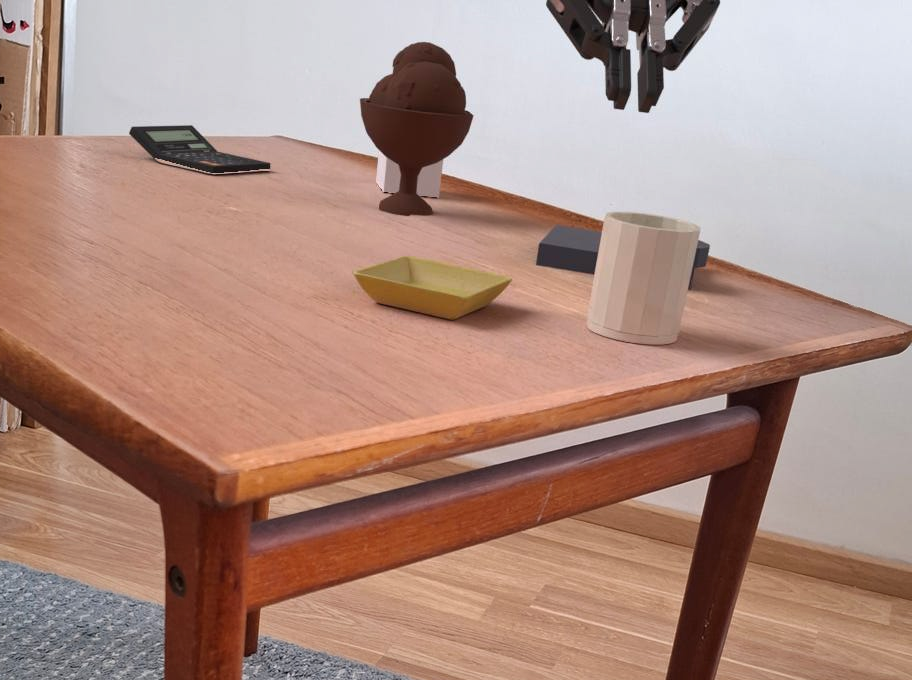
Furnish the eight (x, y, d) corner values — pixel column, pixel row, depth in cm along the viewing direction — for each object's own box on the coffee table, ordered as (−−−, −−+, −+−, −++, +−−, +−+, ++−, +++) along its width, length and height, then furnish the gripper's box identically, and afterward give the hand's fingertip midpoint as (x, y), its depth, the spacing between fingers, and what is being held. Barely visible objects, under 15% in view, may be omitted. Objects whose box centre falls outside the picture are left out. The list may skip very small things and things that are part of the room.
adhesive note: (439, 198, 131) (446, 138, 129) (383, 193, 130) (389, 132, 127) (429, 189, 137) (435, 130, 134) (375, 183, 135) (381, 124, 132)
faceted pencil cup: (678, 330, 89) (701, 222, 85) (675, 350, 83) (699, 235, 80) (590, 315, 90) (609, 207, 86) (581, 334, 84) (601, 220, 81)
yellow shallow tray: (462, 328, 82) (466, 296, 81) (347, 301, 85) (350, 270, 84) (510, 307, 89) (515, 278, 88) (403, 283, 92) (406, 254, 91)
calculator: (212, 175, 127) (213, 144, 125) (128, 156, 132) (128, 125, 130) (270, 171, 134) (271, 141, 133) (188, 153, 139) (189, 124, 138)
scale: (703, 270, 112) (711, 230, 110) (699, 295, 101) (709, 251, 100) (552, 245, 114) (558, 206, 112) (533, 267, 103) (540, 224, 102)
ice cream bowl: (334, 197, 123) (347, 31, 117) (436, 203, 128) (454, 43, 121) (371, 218, 115) (387, 40, 108) (479, 224, 119) (501, 53, 113)
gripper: (555, -141, 90) (555, 53, 85) (734, -114, 92) (744, 78, 87) (532, -57, 97) (531, 127, 92) (699, -34, 99) (707, 149, 94)
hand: (635, 102), depth 90 cm, fingers closed
